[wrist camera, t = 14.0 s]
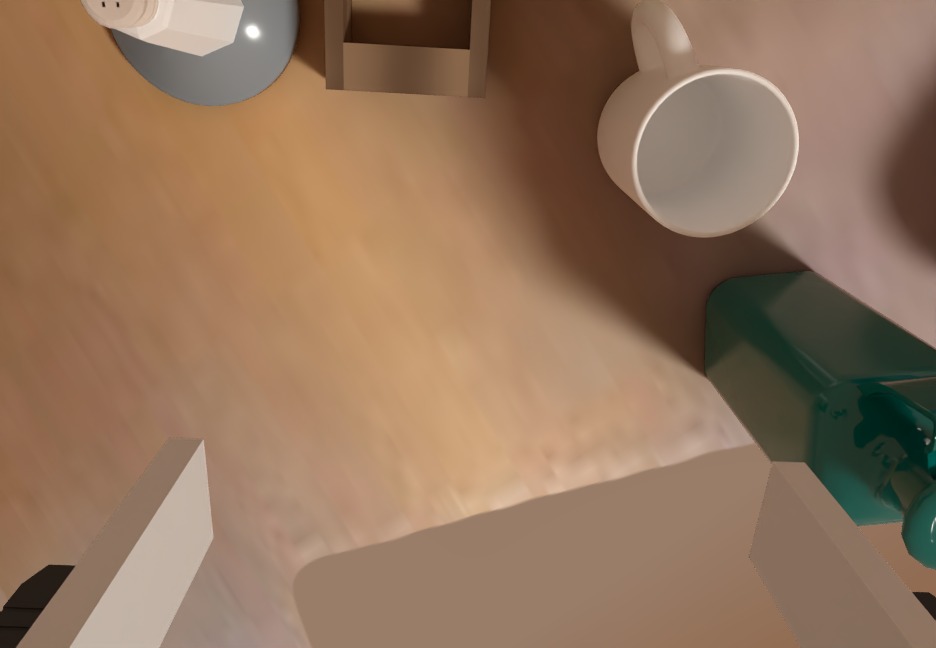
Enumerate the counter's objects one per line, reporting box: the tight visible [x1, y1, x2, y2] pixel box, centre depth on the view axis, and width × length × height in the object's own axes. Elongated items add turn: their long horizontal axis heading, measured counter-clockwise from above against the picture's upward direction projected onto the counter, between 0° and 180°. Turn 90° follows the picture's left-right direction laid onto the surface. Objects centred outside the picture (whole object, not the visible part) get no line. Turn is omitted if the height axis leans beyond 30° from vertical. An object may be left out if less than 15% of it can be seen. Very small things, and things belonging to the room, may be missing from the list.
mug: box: [597, 0, 799, 238], centre depth 39 cm, size 12×8×10 cm
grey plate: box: [110, 0, 301, 106], centre depth 41 cm, size 11×11×1 cm
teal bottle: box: [705, 271, 936, 570], centre depth 39 cm, size 10×8×22 cm
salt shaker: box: [81, 0, 244, 56], centre depth 35 cm, size 5×5×11 cm
